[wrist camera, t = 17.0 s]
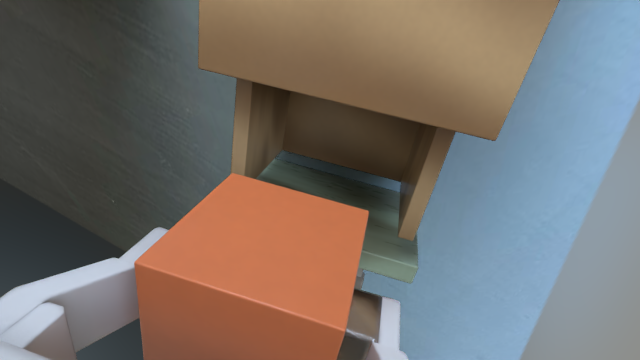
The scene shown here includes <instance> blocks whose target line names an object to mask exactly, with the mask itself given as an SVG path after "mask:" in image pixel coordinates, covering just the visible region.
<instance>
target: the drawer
mask: <svg viewBox="0 0 640 360" xmlns="http://www.w3.org/2000/svg"><path fill="white" fill-rule="evenodd" d="M455 132H456V131H451V130H447V129H443V128H439V127H435V126H431V125H427V124H423V123H419V122H415V121H411V120H407V119H402V118H398V117H394V116H390V115H386V114H382V113H378V112H374V111H370V110H366V109H362V108H357V107H353V106H349V105H345V104H341V103H337V102H333V101H329V100H325V99H321V98H317V97H313V96H308V95H304V94H300V93H296V92H292V91H288V90H284V89H280V88H276V87H272V86H268V85H264V84H259V83H255V82H251V81H247V80H243V79H239V78H237V84H236V100H235V115H234V131H233V146H232V162H231V174H232V173H235V174H238V175H242V176H246V177H249V178H253V179H256V180H260V181H263V182H267V183H271V184H274V185H278V186H281V187H285V188H289V189H292V190H296V191H299V192H303V193H306V194H310V195H314V196H317V197H321V198H324V199H328V200H331V201H335V202H339V203H342V204H346V205H349V206H353V207H356V208H360V209H364V210H367V211H369V216H368V221H367V226H366V231H365V236H364V241H363V246H362V251H361V256H360V261H359V267H358V272H357V277H356V282H355V287H354V288H357V289H360V290H361V288H362V284H363V280H364V275H365V274H364V272H363V270H368V271H371V272H374V273H377V274H381V275H384V276H387V277H391V278H394V279H397V280H400V281H404V282H407V283H412V282H413V279H414V277H415V274H416V272H417V270H418V246H417V230H418V227H419V224H420V222H421V219H422V217H423V214H424V212H425V209H426V206H427V204H428V201H429V199H430V196H431V194H432V191H433V189H434V186H435V183H436V181H437V178H438V176H439V173H440V171H441V168H442V165H443V163H444V160H445V158H446V155H447V153H448V150H449V147H450V145H451V142H452V140H453V137H454V135H455ZM282 150H284V151H288V152H292V153H296V154H299V155H303V156H307V157H310V158H314V159H318V160H322V161H325V162H329V163H333V164H337V165H340V166H344V167H348V168H351V169H355V170H359V171H363V172H366V173H370V174H374V175H378V176H381V177H385V178H389V179H393V180H396V181H400V182H401V186H400V193H399V192H395V191H392V190H388V189H384V188H381V187H377V186H373V185H370V184H366V183H362V182H359V181H355V180H351V179H348V178H344V177H340V176H337V175H333V174H329V173H326V172H322V171H318V170H315V169H311V168H307V167H304V166H300V165H296V164H293V163H289V162H285V161H282V160H278V159H274V158H275V157H276V156H277V155H278V154H279V153H280V152H281V151H282Z"/></svg>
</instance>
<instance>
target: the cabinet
mask: <svg viewBox="0 0 640 360" xmlns="http://www.w3.org/2000/svg"><path fill="white" fill-rule="evenodd" d="M558 3H559V0H199V48H198V68H199V69H202V70H206V71H210V72H215V73H219V74H223V75H227V76H231V77H235V78H239V79H243V80H247V81H251V82H255V83H259V84H264V85H268V86H272V87H276V88H280V89H284V90H288V91H292V92H296V93H300V94H304V95H308V96H313V97H317V98H321V99H325V100H329V101H333V102H337V103H341V104H345V105H349V106H353V107H357V108H362V109H366V110H370V111H374V112H378V113H382V114H386V115H390V116H394V117H398V118H402V119H407V120H411V121H415V122H419V123H423V124H427V125H431V126H435V127H439V128H443V129H447V130H451V131H456V132H460V133H464V134H468V135H472V136H476V137H480V138H484V139H488V140H492V141H495V140H496V139H497V137H498V135H499V132H500V130H501V128H502V126H503V124H504V121H505V119H506V117H507V115H508V113H509V110H510V108H511V106H512V104H513V102H514V99H515V97H516V95H517V93H518V91H519V88H520V86H521V84H522V82H523V80H524V77H525V75H526V73H527V71H528V69H529V66H530V64H531V62H532V60H533V58H534V55H535V53H536V51H537V49H538V47H539V44H540V42H541V40H542V38H543V36H544V33H545V31H546V29H547V27H548V25H549V22H550V20H551V18H552V16H553V14H554V11H555V9H556V7H557V5H558Z"/></svg>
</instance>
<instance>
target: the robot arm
mask: <svg viewBox="0 0 640 360" xmlns="http://www.w3.org/2000/svg"><path fill="white" fill-rule="evenodd" d="M168 231H169V230H167V229H164V228H161V227H158V228H155V229H153V230H152V231H151V232H150V233H149V234H147V235H146V236H145V237H144V238H143V239H141V240H140V241H139V242H138V243H137V244H136V245H134V246H133V247H132V248H131V249H130V250H128V251H127V252H126V253H125V254H124V255H122V256H121V257H120V258H119V259H118V258H110V259H107V260H104V261H101V262H97V263H94V264H91V265H87V266H84V267H81V268H78V269H74V270H71V271H68V272H65V273H61V274H58V275H55V276H51V277H48V278H45V279H42V280H38V281H35V282H32V283H29V284H25V285H22V286H19V287H16V288H14V289H12V290H11V291H9V292H8V293H6V294H5V295H4V296H2V297H1V298H0V360H77V357H76V353H75V352H77V351H79V350H81V349H83V348H84V347H86V346H88V345H90V344H92V343H94V342H95V341H97V340H99V339H101V338H103V337H105V336H107V335H108V334H110V333H112V332H114V331H116V330H118V329H119V328H121V327H123V326H125V325H127V324H128V323H130V322H132V321H134V320H136V319H138V318H140V316H139V307H138V297H137V287H136V277H135V267H134V262H135V261H136V260H137V259H138V258H139V257H140V256H141V255H142V254H143V253H145V252H146V251H147V250H148V249H149V248H150V247H151V246H152V245H153V244H154V243H156V242H157V241H158V240H159V239H160V238H161V237H162V236H163V235H164V234H165V233H167V232H168ZM400 306H401V304H400V302H399V301H397V300H394V299H391V298H387V297H384V296H382V297H381V296H380V295H377V294H373V293H370V292H367V291H363V290H360V289H357V288H354V292H353V297H352V302H351V307H350V312H349V317H348V322H347V327H346V332H345V335H344V338H343V341H342V344H341V347H340V350H339V353H338V356H337V359H336V360H409V359H408V357H407V355H406V354H405V352H402V351H399V347H400Z"/></svg>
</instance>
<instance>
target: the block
mask: <svg viewBox="0 0 640 360" xmlns="http://www.w3.org/2000/svg"><path fill="white" fill-rule="evenodd" d="M368 216H369V211H367V210H364V209H360V208H356V207H353V206H349V205H346V204H342V203H339V202H335V201H331V200H328V199H324V198H321V197H317V196H314V195H310V194H306V193H303V192H299V191H296V190H292V189H289V188H285V187H281V186H278V185H274V184H271V183H267V182H263V181H260V180H256V179H253V178H249V177H246V176H242V175H238V174H235V173H232V174H231V175H229V176H228V177H227V178H226V179H225V180H224V181H223V182H222V183H221V184H220V185H218V186H217V187H216V188H215V189H214V190H213V191H212V192H211V193H210V194H208V195H207V196H206V197H205V198H204V199H203V200H202V201H201V202H200V203H199V204H197V205H196V206H195V207H194V208H193V209H192V210H191V211H190V212H189V213H188V214H186V215H185V216H184V217H183V218H182V219H181V220H180V221H179V222H178V223H177V224H175V225H174V226H173V227H172V228H171V229H170V230H169V231H168V232H167V233H165V234H164V235H163V236H162V237H161V238H160V239H159V240H158V241H157V242H156V243H154V244H153V245H152V246H151V247H150V248H149V249H148V250H147V251H146V252H145V253H143V254H142V255H141V256H140V257H139V258H138V259H137V260H136V261H135V262H134V267H135V277H136V287H137V297H138V307H139V316H140V326H141V336H142V345H143V356H144V360H336V359H337V356H338V353H339V350H340V347H341V344H342V341H343V338H344V335H345V332H346V327H347V322H348V317H349V312H350V307H351V302H352V297H353V292H354V287H355V282H356V277H357V272H358V267H359V261H360V256H361V251H362V246H363V241H364V236H365V231H366V226H367V221H368Z"/></svg>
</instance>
